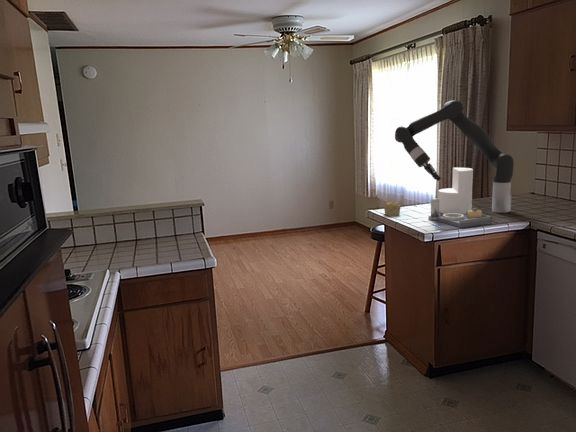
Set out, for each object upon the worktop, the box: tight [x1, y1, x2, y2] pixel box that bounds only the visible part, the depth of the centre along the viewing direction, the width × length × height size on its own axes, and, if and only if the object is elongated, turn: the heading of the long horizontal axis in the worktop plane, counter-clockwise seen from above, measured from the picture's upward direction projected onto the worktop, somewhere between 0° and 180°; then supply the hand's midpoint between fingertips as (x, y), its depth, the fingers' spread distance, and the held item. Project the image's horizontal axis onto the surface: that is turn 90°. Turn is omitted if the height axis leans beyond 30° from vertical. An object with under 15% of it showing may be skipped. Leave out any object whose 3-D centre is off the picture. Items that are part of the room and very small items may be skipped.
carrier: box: [438, 207, 493, 228], centre depth 250 cm, size 20×18×8 cm
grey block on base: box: [428, 197, 442, 222], centre depth 259 cm, size 7×7×12 cm
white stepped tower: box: [437, 167, 474, 215], centre depth 276 cm, size 19×19×25 cm
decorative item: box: [383, 201, 402, 217], centre depth 278 cm, size 10×10×10 cm
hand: (438, 179), depth 254 cm, fingers open, 8 cm apart
